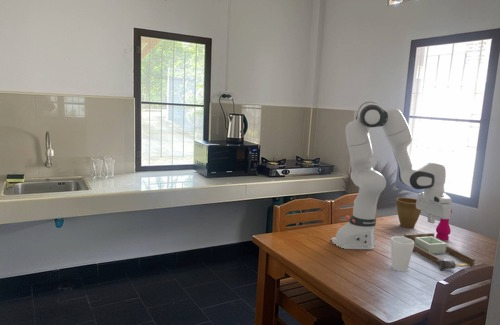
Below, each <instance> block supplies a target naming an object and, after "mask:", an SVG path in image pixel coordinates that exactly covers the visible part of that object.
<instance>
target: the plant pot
mask: <svg viewBox="0 0 500 325" xmlns="http://www.w3.org/2000/svg"><path fill="white" fill-rule="evenodd" d="M416 201H417V198H411V197H396V210H397V216H398V220H399V224H400V227H403V228H407V229H413V228H414V227H415V226H416V224H417V222H418V220H419V217H420V215H421V212H422V211H421V210H419V209H417V208H416Z"/></svg>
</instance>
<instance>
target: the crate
mask: <svg viewBox="0 0 500 325" xmlns="http://www.w3.org/2000/svg"><path fill="white" fill-rule="evenodd" d="M415 245H417V246H418V247H420V248H422V249H424V250H426V251H428V252H429V253H431V254H433V255H445V254H447V253H446V245H447V242H444V241H443V240H440V239H437V238H436V237H435V236H434V237H432V236H431V237H415ZM447 246H448V245H447Z"/></svg>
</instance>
